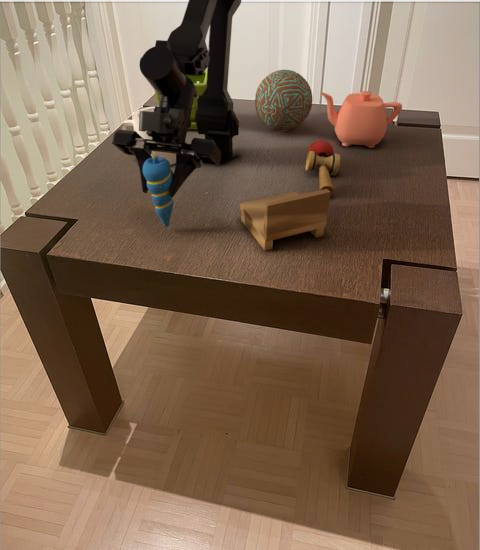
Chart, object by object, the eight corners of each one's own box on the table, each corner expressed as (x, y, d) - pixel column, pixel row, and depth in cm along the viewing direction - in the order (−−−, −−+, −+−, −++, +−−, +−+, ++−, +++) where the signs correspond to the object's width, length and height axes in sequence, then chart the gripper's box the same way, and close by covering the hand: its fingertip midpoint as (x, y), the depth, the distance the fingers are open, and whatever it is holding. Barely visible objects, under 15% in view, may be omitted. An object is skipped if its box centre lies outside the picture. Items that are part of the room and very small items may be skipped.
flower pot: (209, 133, 122) (207, 84, 114) (157, 133, 123) (151, 84, 115) (212, 114, 133) (210, 68, 125) (165, 114, 133) (160, 68, 125)
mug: (121, 167, 107) (112, 122, 100) (129, 148, 115) (122, 106, 108) (178, 166, 107) (174, 122, 100) (183, 148, 115) (179, 106, 108)
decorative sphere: (273, 114, 132) (275, 59, 123) (319, 126, 126) (325, 68, 116) (243, 131, 123) (243, 73, 114) (291, 144, 116) (295, 83, 107)
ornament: (174, 235, 84) (164, 159, 74) (148, 232, 84) (134, 157, 75) (183, 220, 88) (174, 146, 78) (157, 217, 88) (146, 144, 79)
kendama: (347, 202, 96) (337, 155, 109) (346, 178, 92) (336, 131, 104) (310, 207, 98) (304, 159, 110) (307, 183, 93) (302, 136, 105)
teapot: (316, 128, 124) (321, 81, 117) (392, 132, 122) (401, 85, 114) (315, 148, 114) (320, 99, 107) (397, 153, 112) (408, 103, 104)
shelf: (240, 218, 90) (239, 174, 83) (294, 206, 93) (297, 163, 87) (265, 252, 81) (267, 206, 75) (324, 237, 84) (330, 191, 78)
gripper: (105, 82, 75) (86, 173, 74) (213, 91, 71) (193, 188, 70) (134, 112, 86) (117, 192, 85) (229, 121, 82) (212, 206, 81)
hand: (157, 194), depth 80 cm, fingers closed on ornament, 5 cm apart
